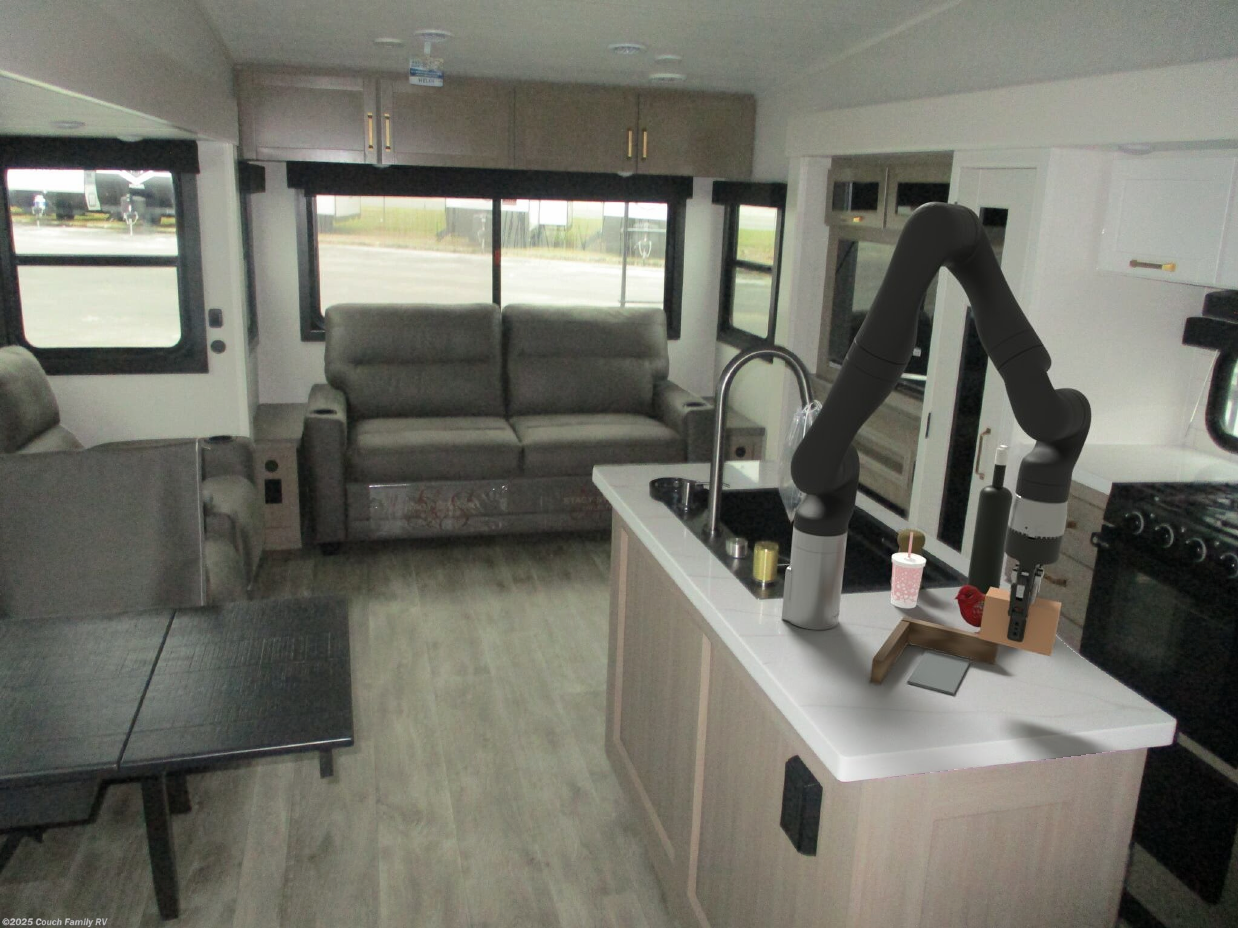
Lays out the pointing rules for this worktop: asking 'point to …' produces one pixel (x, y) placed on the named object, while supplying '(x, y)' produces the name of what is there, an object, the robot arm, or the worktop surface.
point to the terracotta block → (1037, 625)
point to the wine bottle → (991, 528)
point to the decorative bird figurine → (971, 605)
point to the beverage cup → (906, 577)
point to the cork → (917, 543)
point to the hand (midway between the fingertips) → (1017, 633)
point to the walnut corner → (930, 644)
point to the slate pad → (939, 672)
